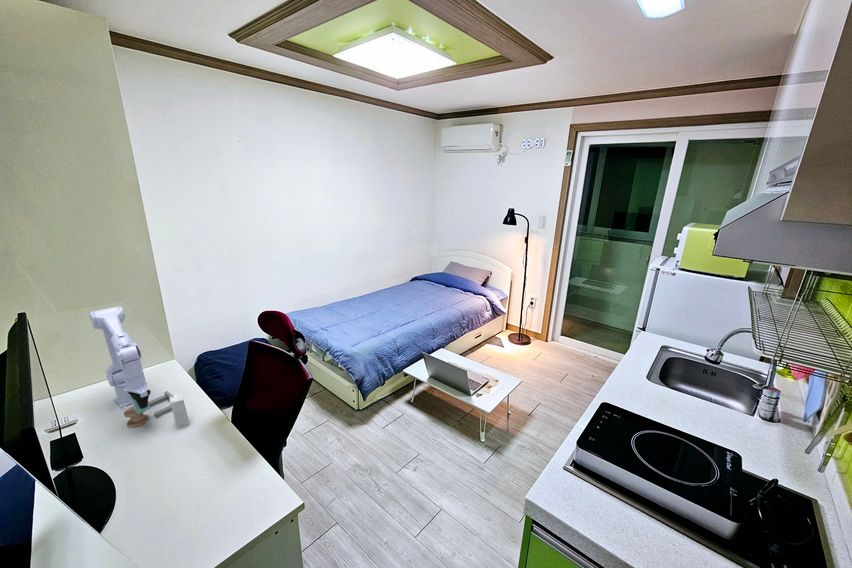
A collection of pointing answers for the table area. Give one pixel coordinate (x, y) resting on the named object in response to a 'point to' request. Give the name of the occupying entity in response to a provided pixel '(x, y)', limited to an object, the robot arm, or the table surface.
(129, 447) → the table surface
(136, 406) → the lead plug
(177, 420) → the skincare box
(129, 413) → the spool
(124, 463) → the table surface
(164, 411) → the gray u-shaped block
